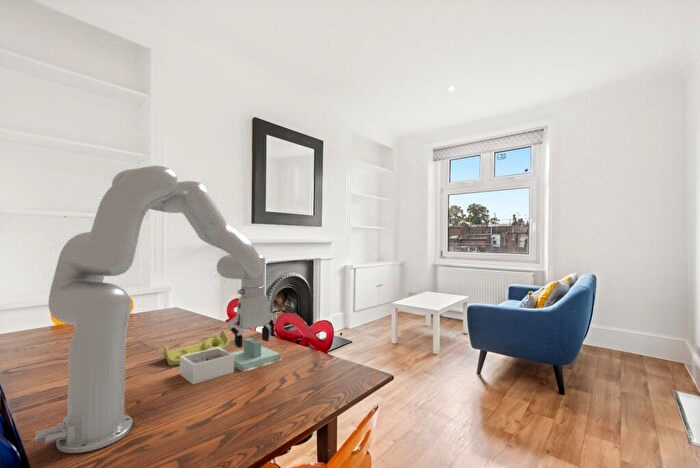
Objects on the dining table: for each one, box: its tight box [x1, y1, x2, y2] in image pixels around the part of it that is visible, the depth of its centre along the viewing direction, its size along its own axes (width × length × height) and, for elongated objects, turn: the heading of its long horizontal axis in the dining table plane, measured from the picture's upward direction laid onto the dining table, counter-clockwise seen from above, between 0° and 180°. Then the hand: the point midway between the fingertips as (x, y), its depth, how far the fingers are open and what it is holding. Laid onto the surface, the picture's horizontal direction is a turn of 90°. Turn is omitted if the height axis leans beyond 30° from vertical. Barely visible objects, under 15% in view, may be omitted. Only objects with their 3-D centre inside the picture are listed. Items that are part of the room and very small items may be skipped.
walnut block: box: [206, 354, 223, 361], centre depth 103 cm, size 4×4×4 cm
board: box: [234, 358, 283, 373], centre depth 112 cm, size 14×14×1 cm
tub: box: [179, 347, 235, 385], centre depth 101 cm, size 12×10×6 cm
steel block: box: [192, 358, 206, 364], centre depth 99 cm, size 4×4×4 cm
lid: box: [231, 337, 281, 371], centre depth 112 cm, size 14×12×6 cm
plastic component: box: [162, 330, 230, 366], centre depth 116 cm, size 20×7×10 cm
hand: (252, 343), depth 112 cm, fingers open, 9 cm apart
